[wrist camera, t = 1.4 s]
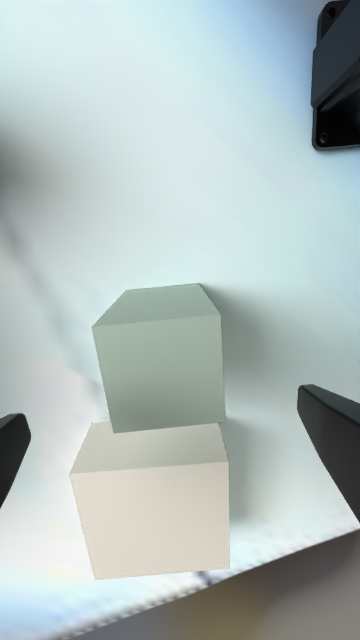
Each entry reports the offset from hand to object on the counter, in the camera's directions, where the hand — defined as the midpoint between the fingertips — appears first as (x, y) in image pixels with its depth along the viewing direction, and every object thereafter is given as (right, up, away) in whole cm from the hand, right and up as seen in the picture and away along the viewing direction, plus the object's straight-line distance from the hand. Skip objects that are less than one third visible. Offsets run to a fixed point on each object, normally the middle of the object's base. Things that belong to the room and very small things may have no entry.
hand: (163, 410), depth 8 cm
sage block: (0, +3, +10) cm, 10 cm away
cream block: (-1, -10, +14) cm, 17 cm away
